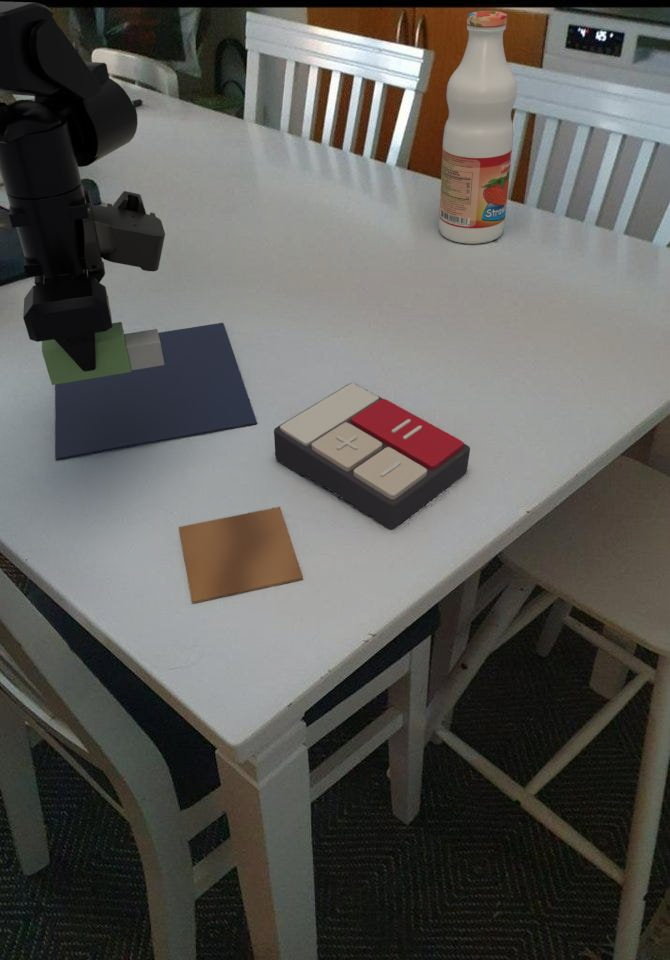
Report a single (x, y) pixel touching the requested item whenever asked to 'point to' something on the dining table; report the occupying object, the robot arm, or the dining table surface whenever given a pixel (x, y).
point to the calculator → (371, 453)
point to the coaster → (238, 554)
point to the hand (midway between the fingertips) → (88, 360)
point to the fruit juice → (478, 136)
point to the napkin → (156, 398)
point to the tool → (106, 355)
